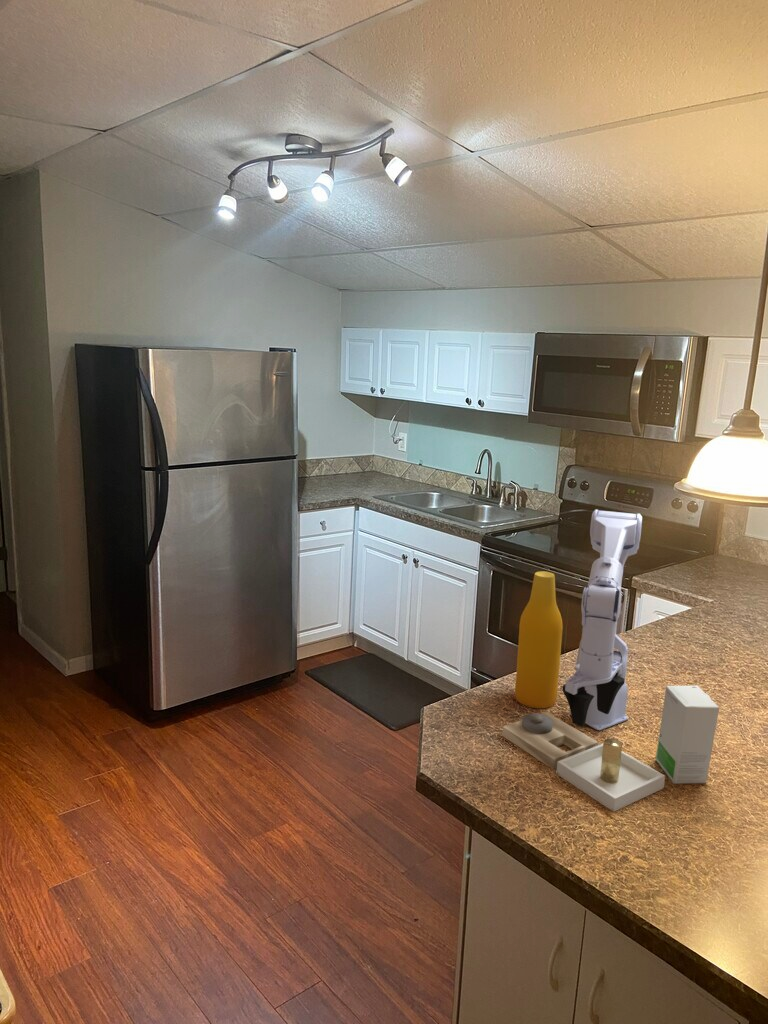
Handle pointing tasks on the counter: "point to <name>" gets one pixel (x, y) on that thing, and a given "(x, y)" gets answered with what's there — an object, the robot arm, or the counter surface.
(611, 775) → the lock pin
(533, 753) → the tensioner bracket
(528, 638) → the beer bottle
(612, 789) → the tray
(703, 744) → the skincare box
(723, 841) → the counter surface
